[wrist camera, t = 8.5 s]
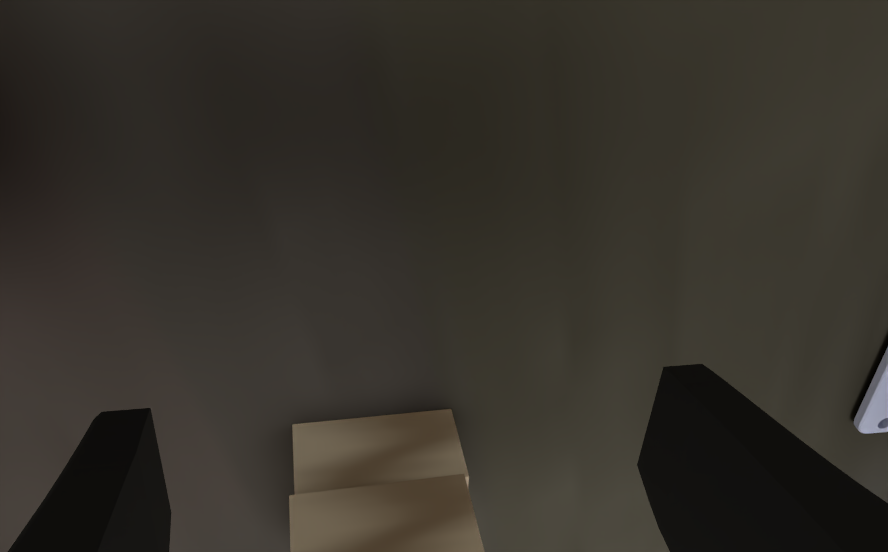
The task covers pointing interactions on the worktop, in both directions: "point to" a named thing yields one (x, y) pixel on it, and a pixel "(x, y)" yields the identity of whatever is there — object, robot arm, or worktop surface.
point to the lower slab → (376, 451)
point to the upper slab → (387, 518)
